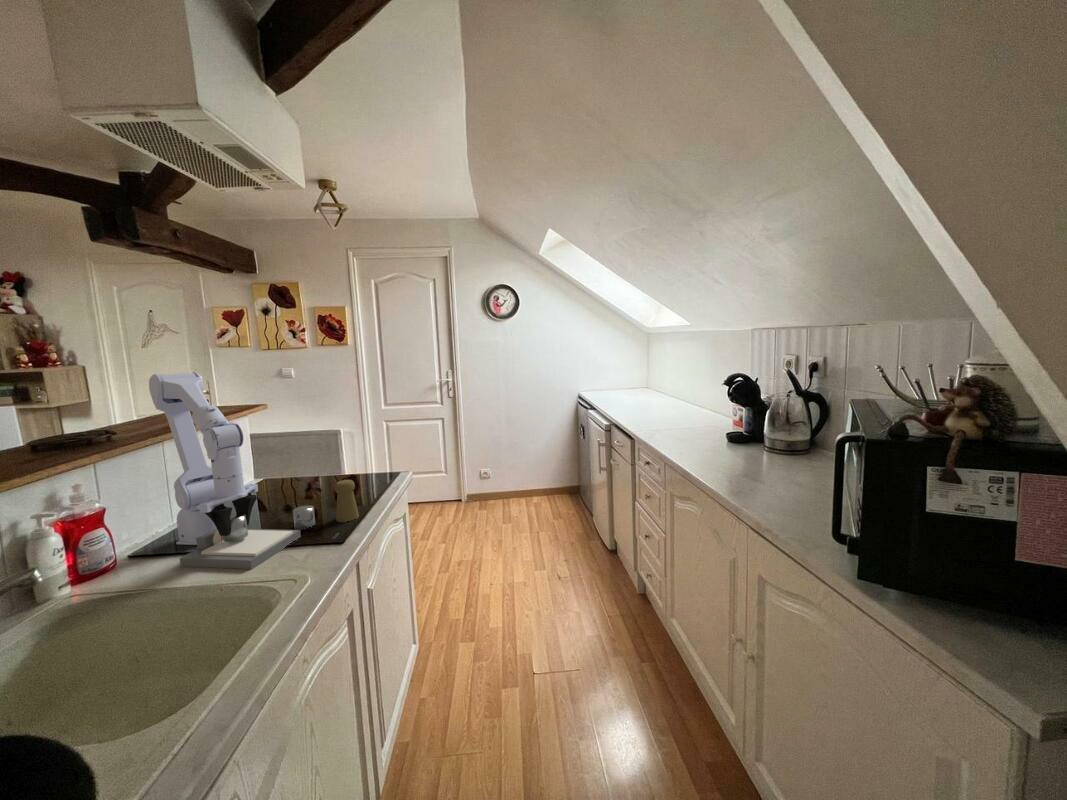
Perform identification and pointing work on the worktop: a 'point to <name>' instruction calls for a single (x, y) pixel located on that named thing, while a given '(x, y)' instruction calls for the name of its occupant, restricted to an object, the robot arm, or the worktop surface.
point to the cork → (346, 501)
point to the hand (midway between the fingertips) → (234, 530)
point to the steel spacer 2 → (304, 517)
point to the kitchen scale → (238, 549)
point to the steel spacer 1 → (237, 528)
